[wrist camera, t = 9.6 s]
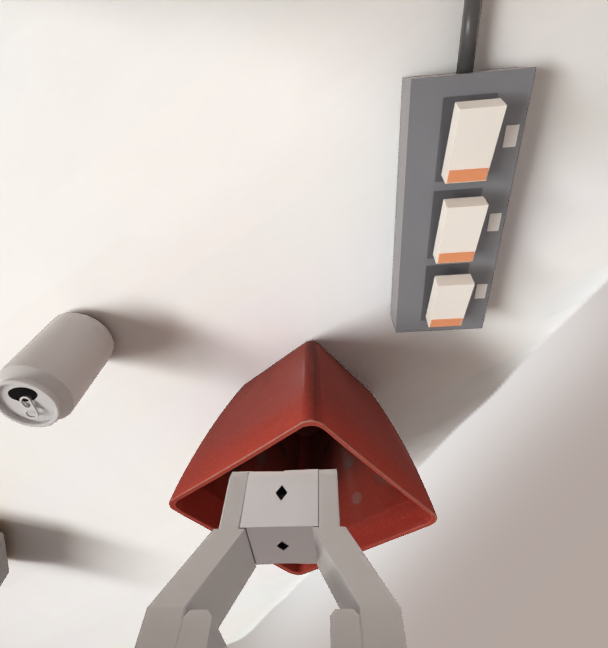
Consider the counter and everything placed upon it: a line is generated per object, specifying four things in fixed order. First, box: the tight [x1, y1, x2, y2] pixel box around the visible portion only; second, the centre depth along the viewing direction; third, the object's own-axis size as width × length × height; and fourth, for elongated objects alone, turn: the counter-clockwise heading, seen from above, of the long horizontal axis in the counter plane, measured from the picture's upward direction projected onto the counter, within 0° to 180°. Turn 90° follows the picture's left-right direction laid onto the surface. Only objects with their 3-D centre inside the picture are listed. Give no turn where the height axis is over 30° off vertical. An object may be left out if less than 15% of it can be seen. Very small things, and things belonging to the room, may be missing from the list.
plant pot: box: [169, 341, 437, 575], centre depth 44 cm, size 19×19×17 cm
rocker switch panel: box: [391, 0, 536, 332], centre depth 35 cm, size 29×9×4 cm, turn 5°
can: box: [0, 313, 114, 427], centre depth 42 cm, size 8×8×12 cm
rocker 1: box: [441, 98, 507, 184], centre depth 30 cm, size 6×3×2 cm, turn 4°
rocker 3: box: [426, 274, 475, 327], centre depth 37 cm, size 6×3×2 cm, turn 4°
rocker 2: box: [433, 196, 489, 264], centre depth 34 cm, size 6×3×2 cm, turn 4°
